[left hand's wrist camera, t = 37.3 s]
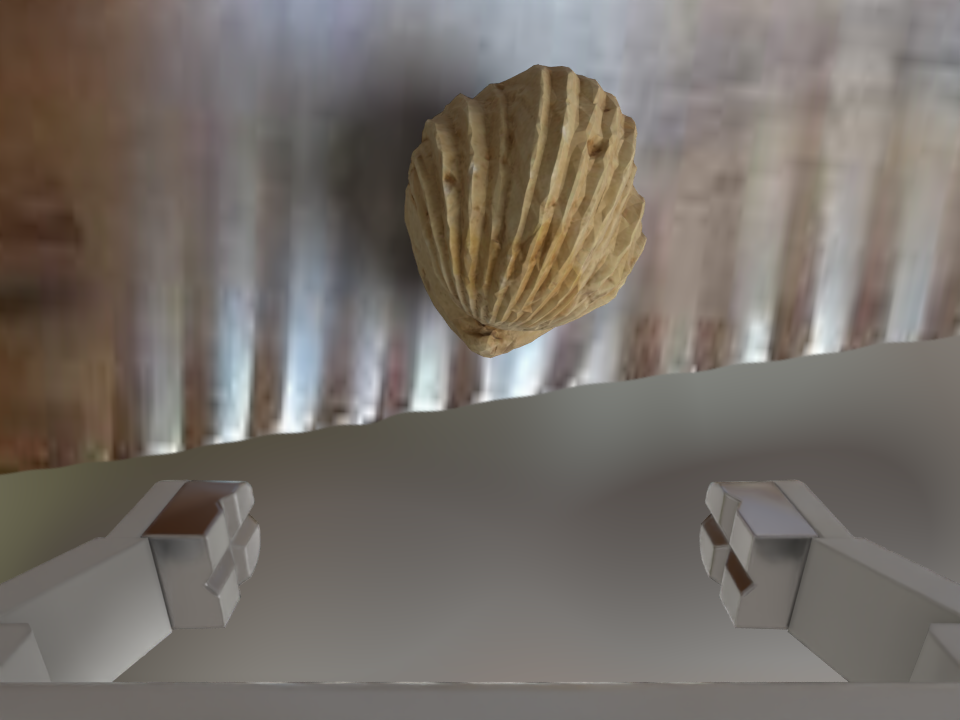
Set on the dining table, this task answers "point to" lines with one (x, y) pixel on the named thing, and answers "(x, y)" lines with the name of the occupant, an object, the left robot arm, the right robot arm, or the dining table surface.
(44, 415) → the dining table surface
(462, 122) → the fossil
